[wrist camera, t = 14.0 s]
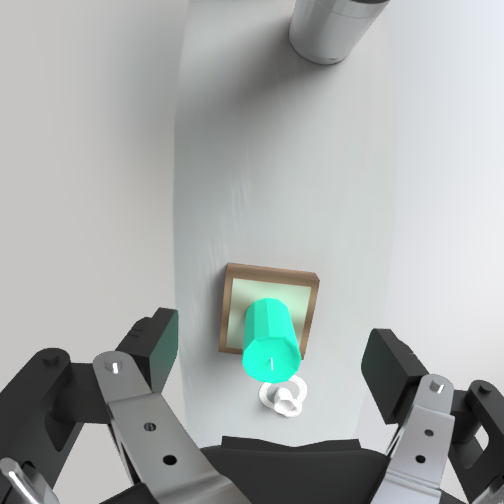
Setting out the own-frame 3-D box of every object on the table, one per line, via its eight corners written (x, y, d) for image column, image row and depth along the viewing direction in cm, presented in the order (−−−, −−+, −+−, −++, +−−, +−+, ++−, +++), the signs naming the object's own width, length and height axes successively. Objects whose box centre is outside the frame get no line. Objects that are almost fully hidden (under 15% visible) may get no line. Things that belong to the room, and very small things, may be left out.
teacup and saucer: (302, 411, 48) (305, 426, 44) (257, 411, 48) (257, 426, 44) (309, 372, 46) (313, 387, 42) (260, 372, 46) (260, 387, 42)
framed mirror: (228, 262, 42) (225, 270, 38) (314, 272, 42) (320, 280, 39) (221, 339, 45) (218, 352, 41) (300, 347, 45) (303, 360, 41)
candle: (299, 322, 40) (314, 374, 28) (262, 346, 41) (264, 401, 29) (274, 288, 39) (281, 331, 27) (235, 313, 40) (228, 363, 28)
